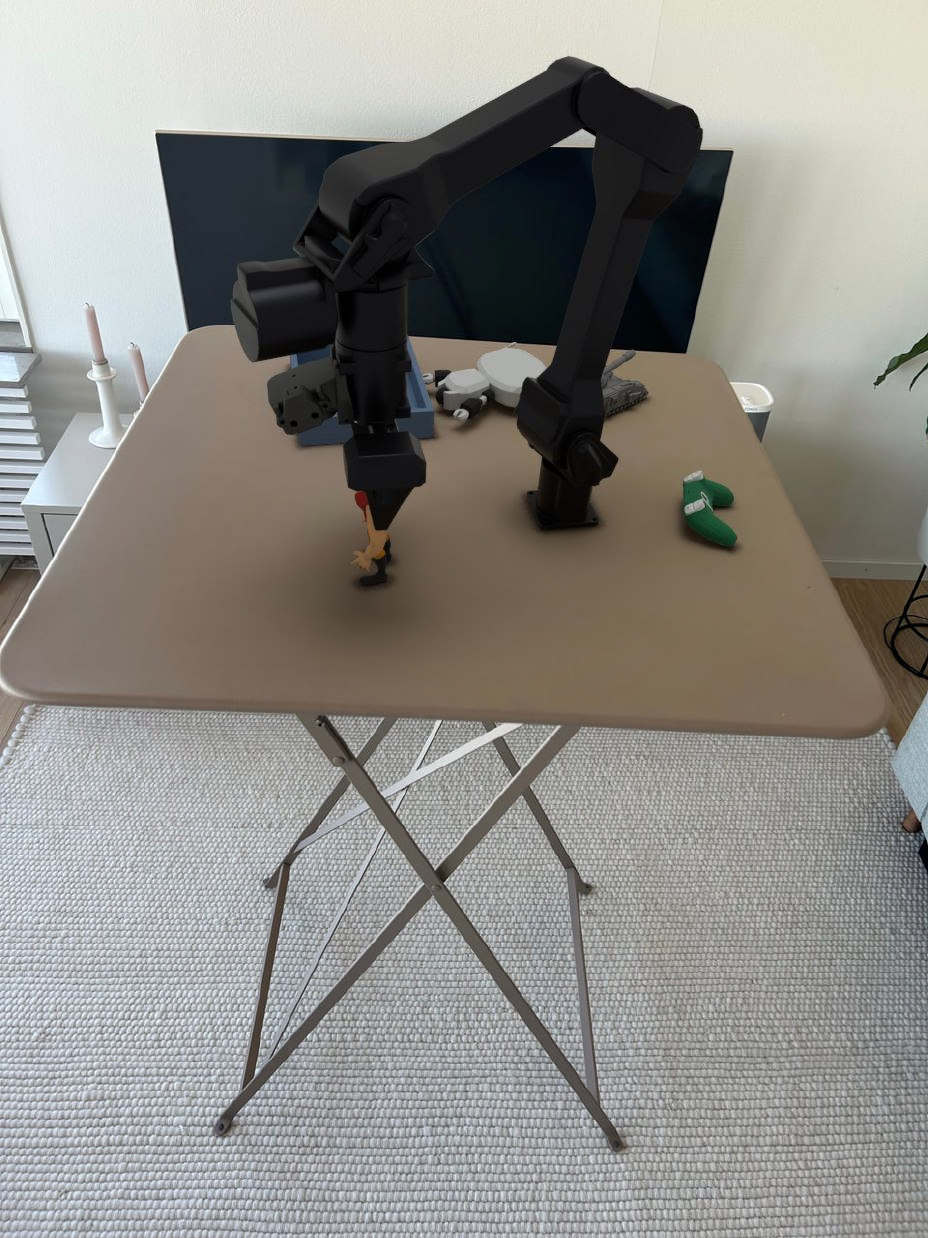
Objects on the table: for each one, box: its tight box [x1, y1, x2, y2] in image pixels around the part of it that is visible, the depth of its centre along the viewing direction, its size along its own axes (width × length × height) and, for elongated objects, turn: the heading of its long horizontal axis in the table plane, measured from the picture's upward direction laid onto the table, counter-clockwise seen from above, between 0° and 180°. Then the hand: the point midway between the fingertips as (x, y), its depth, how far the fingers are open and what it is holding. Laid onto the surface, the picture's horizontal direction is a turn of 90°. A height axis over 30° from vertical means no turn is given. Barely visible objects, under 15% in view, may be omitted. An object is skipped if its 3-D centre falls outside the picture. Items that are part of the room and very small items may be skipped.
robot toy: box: [422, 341, 548, 422], centre depth 110 cm, size 12×4×15 cm
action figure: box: [350, 491, 393, 586], centre depth 81 cm, size 10×4×15 cm, turn 175°
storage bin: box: [289, 335, 435, 447], centre depth 109 cm, size 20×16×4 cm
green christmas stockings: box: [682, 469, 739, 548], centre depth 94 cm, size 9×4×6 cm
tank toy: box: [601, 349, 649, 418], centre depth 112 cm, size 12×10×5 cm
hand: (374, 499), depth 80 cm, fingers open, 9 cm apart
